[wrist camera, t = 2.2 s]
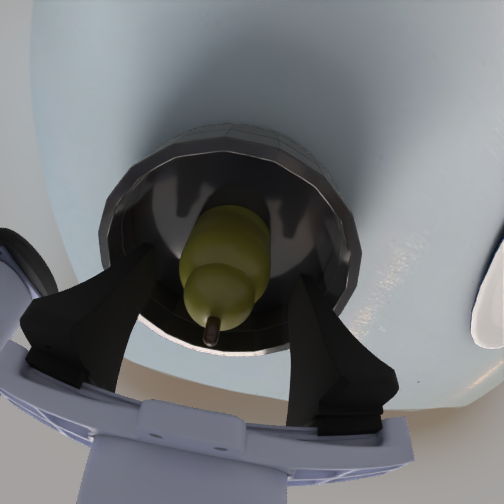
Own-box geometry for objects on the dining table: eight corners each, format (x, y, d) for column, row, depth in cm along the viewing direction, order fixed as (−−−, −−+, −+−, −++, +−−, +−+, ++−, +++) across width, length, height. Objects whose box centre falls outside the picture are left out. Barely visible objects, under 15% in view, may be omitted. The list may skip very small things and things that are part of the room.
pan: (194, 327, 22) (184, 368, 19) (94, 186, 15) (58, 217, 12) (361, 281, 18) (375, 325, 15) (297, 84, 12) (308, 85, 8)
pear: (214, 279, 18) (192, 380, 12) (177, 221, 16) (128, 317, 10) (282, 258, 17) (286, 365, 11) (251, 191, 15) (237, 287, 8)
